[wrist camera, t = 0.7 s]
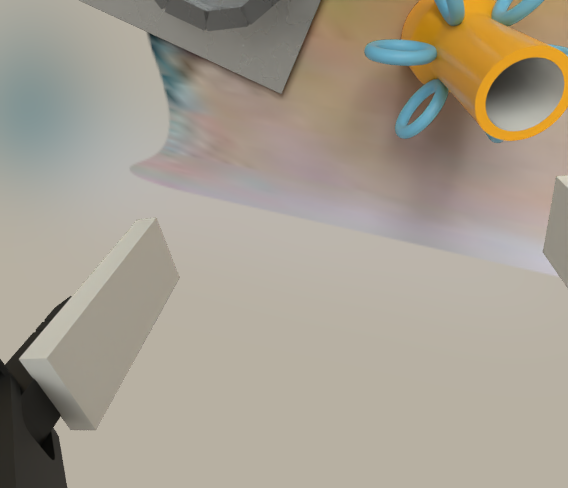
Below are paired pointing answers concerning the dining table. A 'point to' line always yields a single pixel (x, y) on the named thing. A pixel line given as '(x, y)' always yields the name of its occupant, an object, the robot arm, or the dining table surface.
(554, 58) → the cylinder
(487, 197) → the dining table surface
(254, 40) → the duct plate
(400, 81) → the dining table surface
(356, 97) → the dining table surface
